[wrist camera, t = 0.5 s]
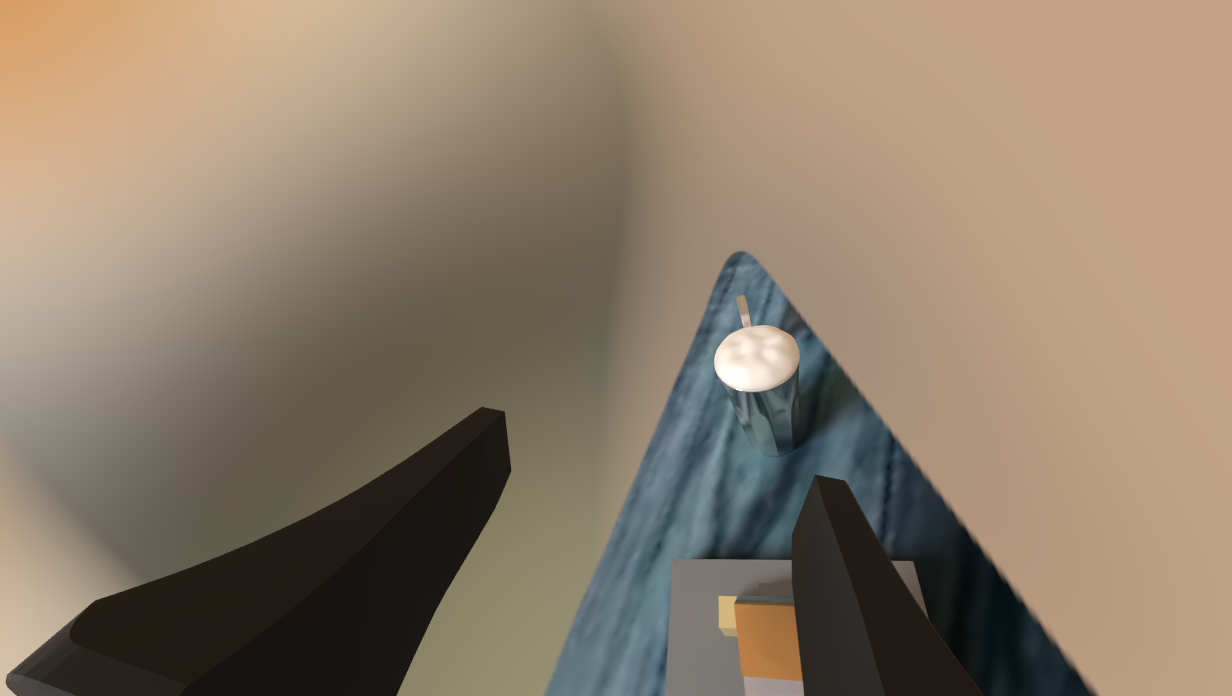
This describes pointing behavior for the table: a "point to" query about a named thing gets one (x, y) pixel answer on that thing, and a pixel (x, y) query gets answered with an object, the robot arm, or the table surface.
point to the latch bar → (768, 646)
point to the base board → (725, 618)
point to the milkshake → (762, 383)
